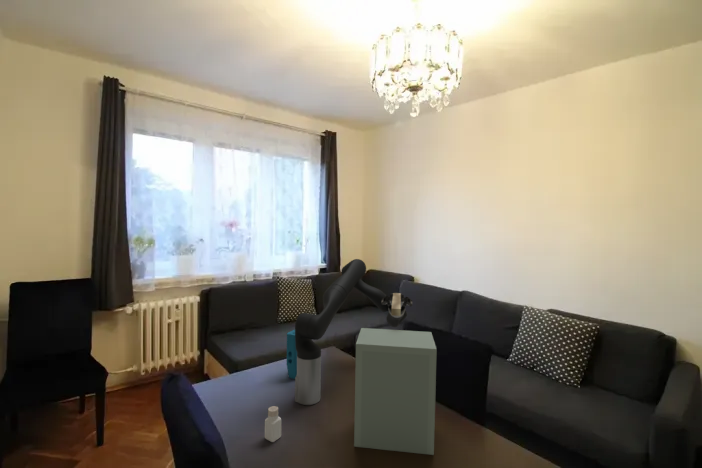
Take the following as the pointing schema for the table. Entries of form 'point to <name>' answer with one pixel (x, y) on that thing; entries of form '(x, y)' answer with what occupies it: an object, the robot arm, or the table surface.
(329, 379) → the table surface
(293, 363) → the block
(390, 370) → the tall sage green box
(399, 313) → the slat
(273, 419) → the salt shaker
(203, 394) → the table surface
